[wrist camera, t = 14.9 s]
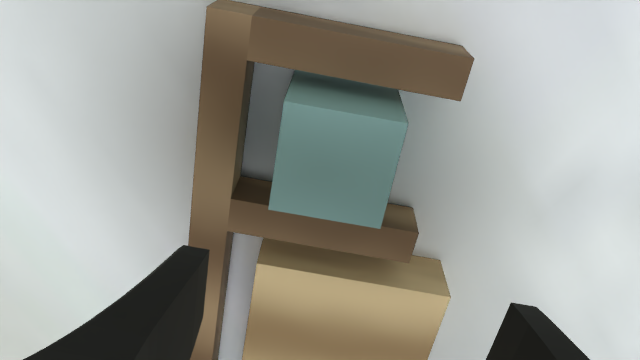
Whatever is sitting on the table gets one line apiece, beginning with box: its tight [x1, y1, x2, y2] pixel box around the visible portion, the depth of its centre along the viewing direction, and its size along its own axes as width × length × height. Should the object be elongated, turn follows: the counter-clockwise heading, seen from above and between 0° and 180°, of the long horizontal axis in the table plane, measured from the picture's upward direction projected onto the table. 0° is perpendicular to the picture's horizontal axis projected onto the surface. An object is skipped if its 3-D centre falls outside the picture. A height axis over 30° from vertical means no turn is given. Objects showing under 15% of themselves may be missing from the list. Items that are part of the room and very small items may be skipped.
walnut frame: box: [188, 0, 474, 360], centre depth 22 cm, size 20×9×2 cm, turn 170°
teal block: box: [268, 70, 408, 229], centre depth 19 cm, size 4×4×4 cm
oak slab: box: [242, 238, 451, 360], centre depth 24 cm, size 8×8×3 cm
